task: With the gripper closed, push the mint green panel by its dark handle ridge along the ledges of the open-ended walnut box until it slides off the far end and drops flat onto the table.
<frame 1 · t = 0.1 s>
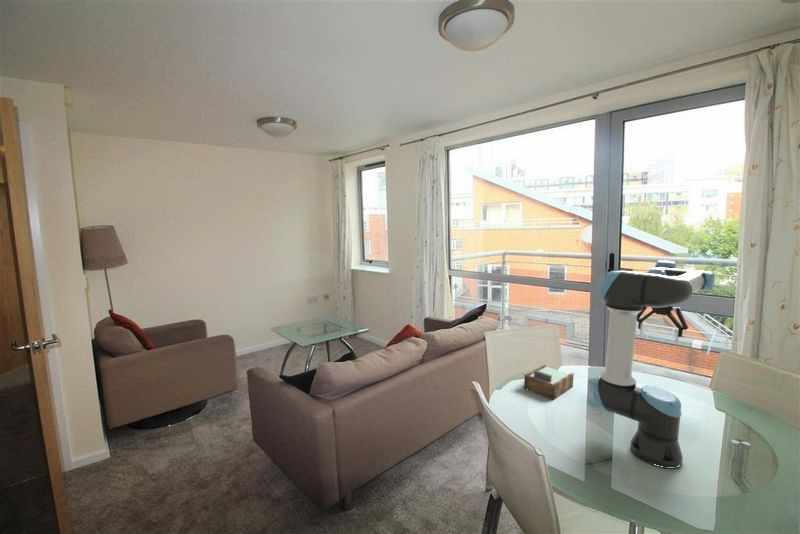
hand: (658, 339, 167), 28 cm above the table, fingers open, 13 cm apart
box: (548, 387, 179), on the table
mint green panel: (549, 376, 179), point 6 cm above the table, touching box
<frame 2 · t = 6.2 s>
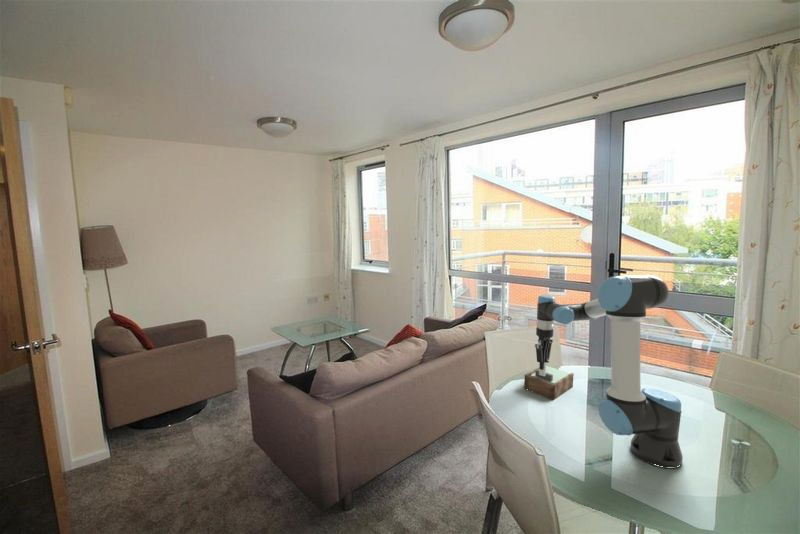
hand: (542, 375, 174), 9 cm above the table, fingers closed
mint green panel: (550, 375, 180), point 6 cm above the table, touching box, gripper
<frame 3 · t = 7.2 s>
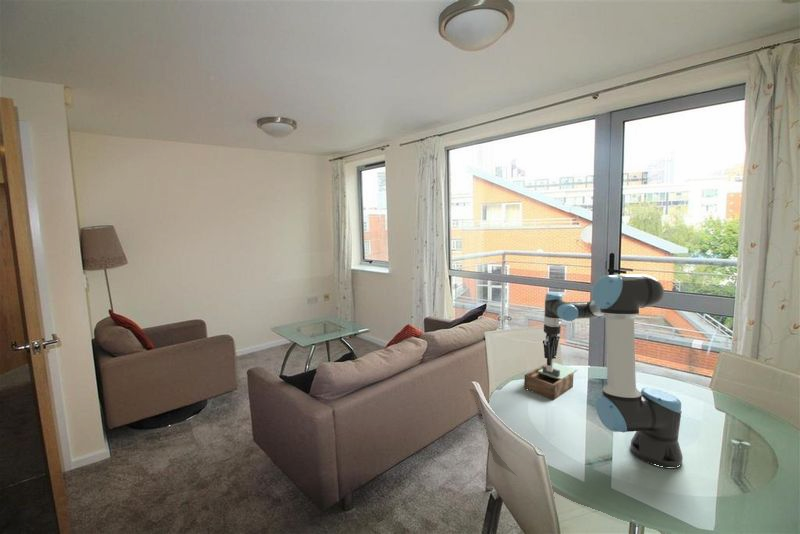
hand: (549, 370, 179), 9 cm above the table, fingers closed
mint green panel: (557, 371, 185), point 6 cm above the table, touching box
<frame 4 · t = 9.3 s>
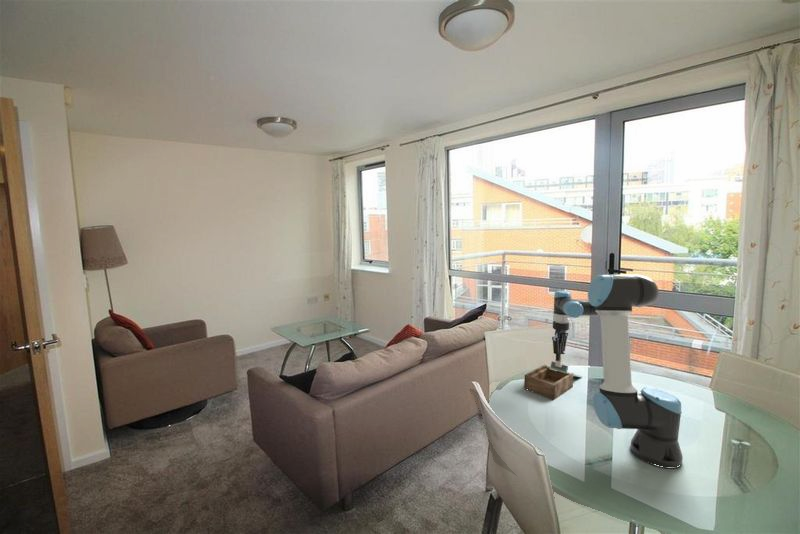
hand: (558, 366, 184), 9 cm above the table, fingers closed
mint green panel: (563, 372, 190), point 3 cm above the table, tilted 22°, touching gripper
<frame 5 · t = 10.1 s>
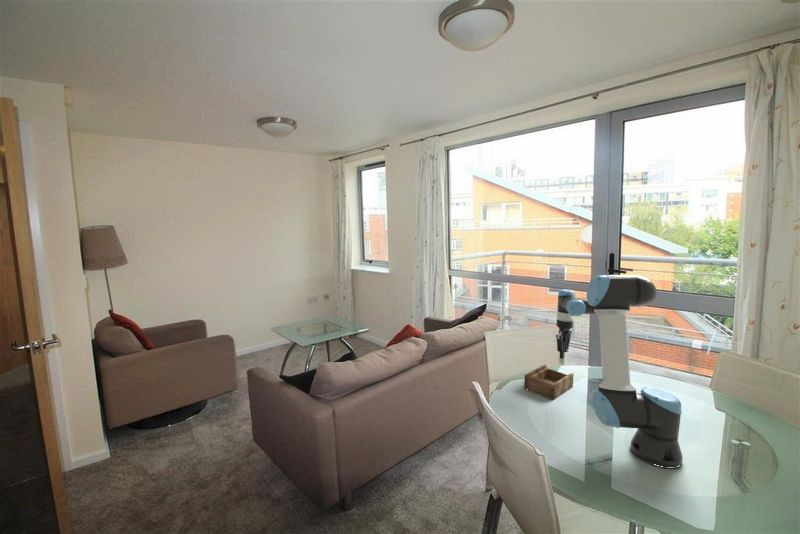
hand: (562, 363, 187), 9 cm above the table, fingers closed
mint green panel: (565, 377, 192), on the table
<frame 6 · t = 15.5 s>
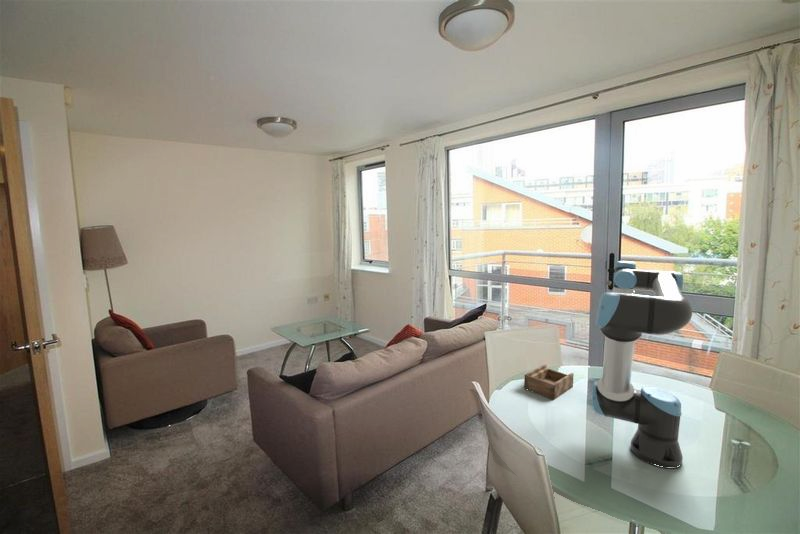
hand: (618, 349, 158), 26 cm above the table, fingers closed
nothing on the table moved.
at the end: mint green panel inside the target area (6.8 cm from its centre), on the table; mint green panel tilted 0°; mint green panel touching table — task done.
